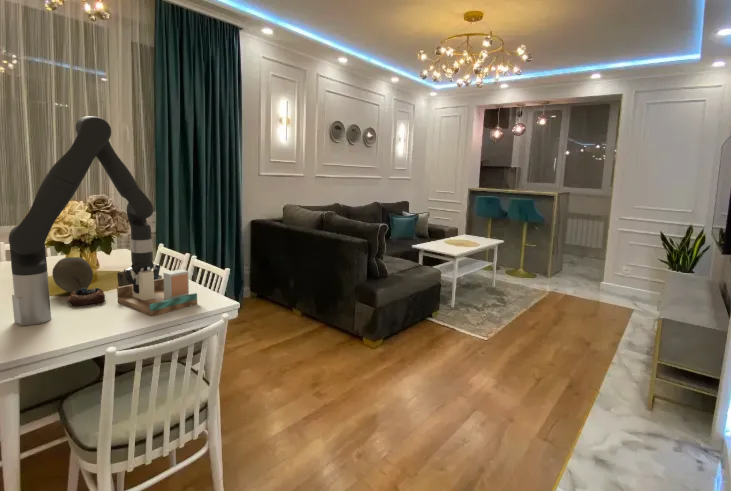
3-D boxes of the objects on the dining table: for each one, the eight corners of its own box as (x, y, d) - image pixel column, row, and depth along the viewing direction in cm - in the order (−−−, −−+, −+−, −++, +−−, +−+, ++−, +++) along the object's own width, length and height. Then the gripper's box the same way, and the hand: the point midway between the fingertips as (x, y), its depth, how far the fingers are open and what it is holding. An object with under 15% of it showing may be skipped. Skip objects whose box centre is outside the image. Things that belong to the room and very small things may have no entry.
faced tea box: (171, 301, 163) (170, 274, 161) (164, 299, 165) (163, 272, 163) (189, 297, 169) (188, 271, 167) (182, 294, 172) (181, 269, 170)
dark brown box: (148, 292, 179) (147, 277, 177) (116, 285, 185) (115, 271, 184) (163, 288, 186) (162, 274, 185) (132, 281, 193) (131, 267, 192)
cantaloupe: (100, 287, 180) (98, 254, 178) (83, 297, 167) (81, 261, 164) (65, 287, 178) (62, 253, 176) (45, 297, 165) (42, 260, 162)
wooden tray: (151, 316, 152) (151, 300, 151) (117, 301, 164) (117, 287, 163) (197, 304, 168) (197, 289, 167) (163, 291, 180) (162, 278, 179)
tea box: (155, 297, 166) (154, 271, 164) (143, 300, 162) (142, 273, 160) (143, 293, 170) (142, 267, 168) (132, 296, 166) (131, 269, 164)
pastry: (107, 303, 162) (106, 289, 161) (70, 309, 155) (68, 294, 154) (102, 296, 170) (101, 282, 169) (67, 300, 163) (66, 286, 162)
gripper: (128, 254, 154) (130, 297, 158) (164, 249, 166) (165, 289, 170) (118, 251, 158) (120, 293, 162) (154, 246, 170) (155, 286, 173)
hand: (143, 291), depth 166 cm, fingers closed on tea box, 4 cm apart
